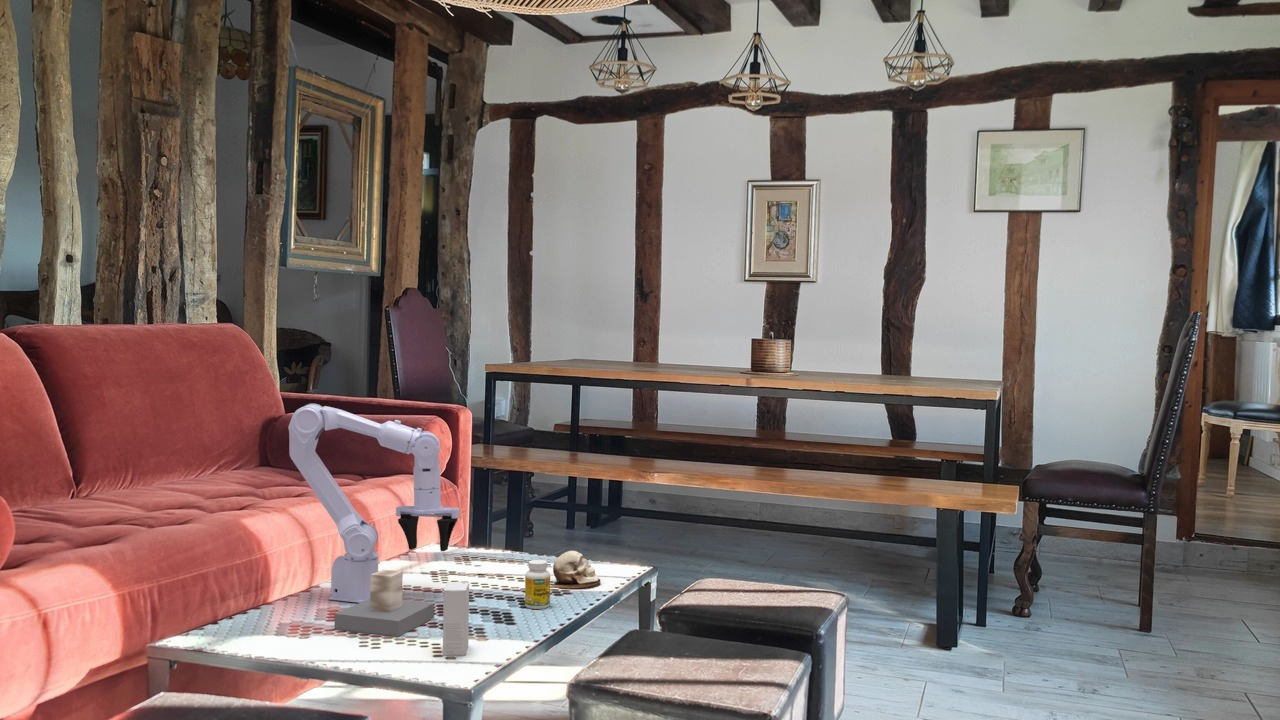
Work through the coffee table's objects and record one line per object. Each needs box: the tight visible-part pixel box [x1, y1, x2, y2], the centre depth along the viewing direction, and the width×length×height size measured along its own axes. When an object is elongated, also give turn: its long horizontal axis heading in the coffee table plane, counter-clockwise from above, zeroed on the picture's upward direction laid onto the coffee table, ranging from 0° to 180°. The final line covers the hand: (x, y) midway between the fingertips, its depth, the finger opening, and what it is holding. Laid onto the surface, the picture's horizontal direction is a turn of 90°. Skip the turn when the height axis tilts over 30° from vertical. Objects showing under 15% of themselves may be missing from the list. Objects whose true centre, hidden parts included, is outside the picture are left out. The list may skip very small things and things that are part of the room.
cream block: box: [370, 569, 404, 612], centre depth 204 cm, size 4×4×7 cm
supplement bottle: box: [524, 559, 551, 610], centre depth 219 cm, size 5×5×10 cm
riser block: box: [334, 599, 435, 638], centre depth 203 cm, size 14×14×3 cm
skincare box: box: [442, 581, 470, 657], centre depth 187 cm, size 6×4×12 cm
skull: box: [550, 550, 601, 589], centre depth 240 cm, size 12×10×10 cm
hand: (428, 549), depth 224 cm, fingers open, 7 cm apart
